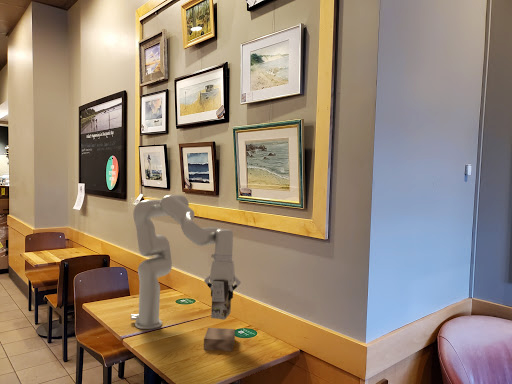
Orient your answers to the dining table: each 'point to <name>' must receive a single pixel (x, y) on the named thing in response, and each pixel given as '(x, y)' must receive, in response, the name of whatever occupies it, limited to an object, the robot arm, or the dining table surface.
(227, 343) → the walnut block
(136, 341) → the dining table surface
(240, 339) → the dining table surface
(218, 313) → the coffee box
